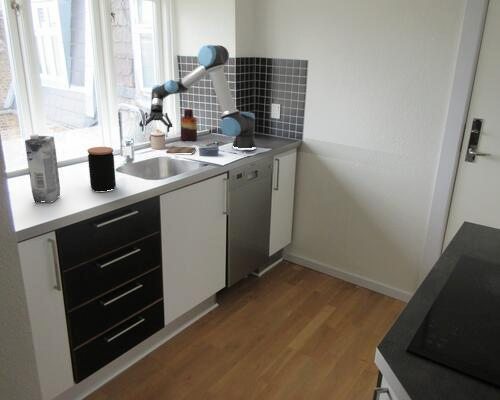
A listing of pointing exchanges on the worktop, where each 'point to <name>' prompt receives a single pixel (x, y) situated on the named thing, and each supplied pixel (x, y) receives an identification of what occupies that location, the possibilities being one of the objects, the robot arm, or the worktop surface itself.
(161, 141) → the teacup with lid
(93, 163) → the coffee jar
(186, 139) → the vase
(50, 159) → the juice carton
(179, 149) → the walnut board
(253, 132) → the robot arm
